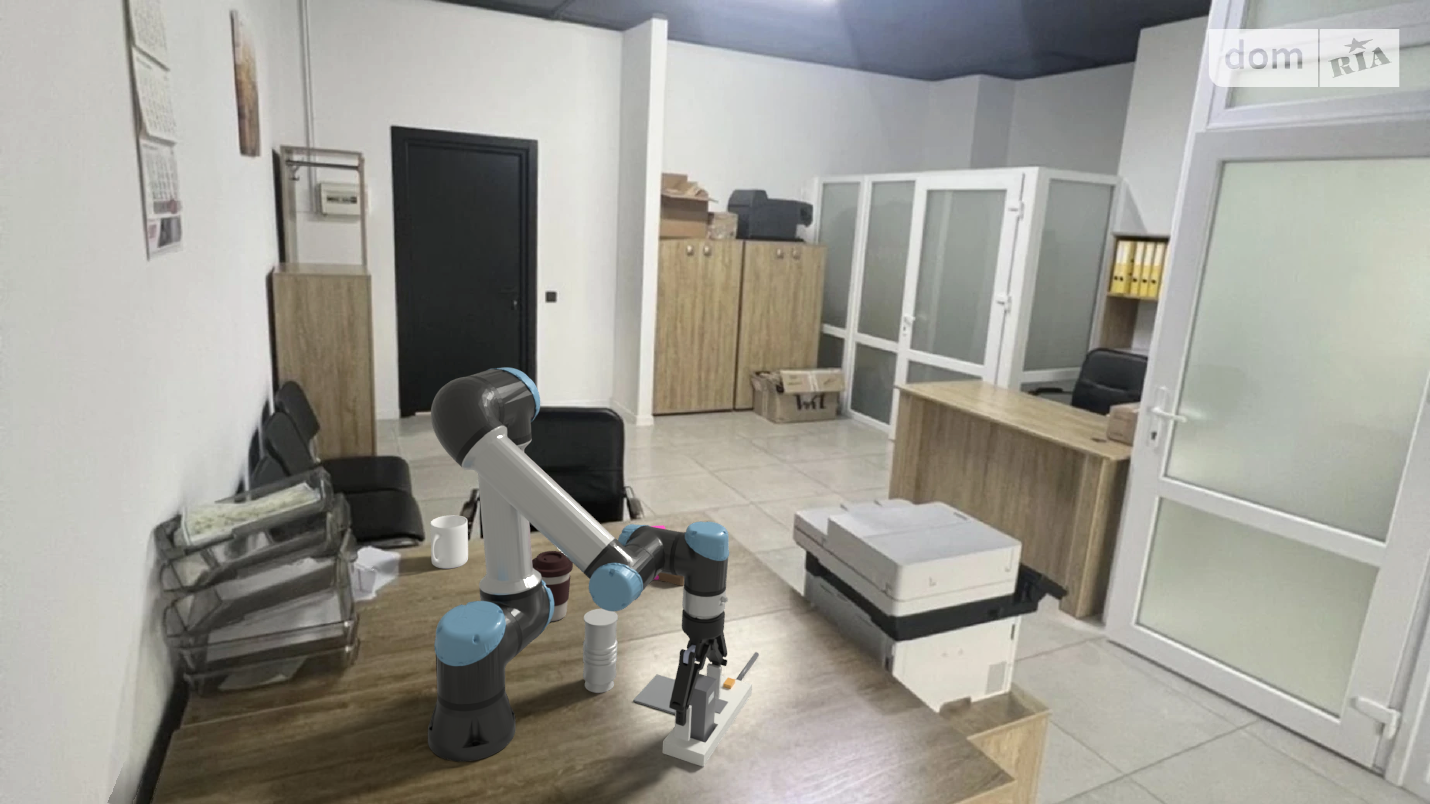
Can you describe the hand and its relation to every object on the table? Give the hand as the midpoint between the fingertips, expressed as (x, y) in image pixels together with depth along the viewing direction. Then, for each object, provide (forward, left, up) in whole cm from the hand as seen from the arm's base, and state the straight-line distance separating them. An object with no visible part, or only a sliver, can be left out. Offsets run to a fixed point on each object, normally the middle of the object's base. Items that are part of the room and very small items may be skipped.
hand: (698, 716), depth 139 cm
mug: (+36, +90, -5) cm, 97 cm away
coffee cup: (+26, +50, -5) cm, 57 cm away
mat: (+10, +11, -5) cm, 16 cm away
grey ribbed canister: (+7, +25, -5) cm, 26 cm away
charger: (0, 0, -5) cm, 5 cm away
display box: (+62, +37, -5) cm, 72 cm away
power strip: (+13, 0, -5) cm, 14 cm away
